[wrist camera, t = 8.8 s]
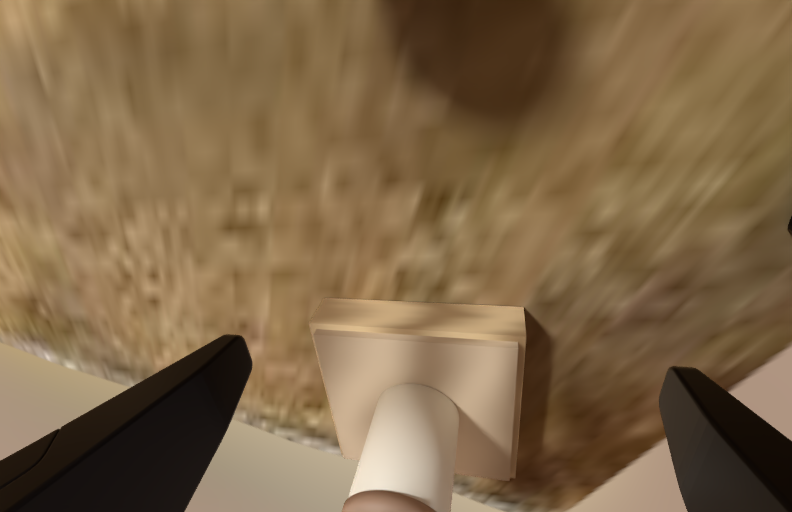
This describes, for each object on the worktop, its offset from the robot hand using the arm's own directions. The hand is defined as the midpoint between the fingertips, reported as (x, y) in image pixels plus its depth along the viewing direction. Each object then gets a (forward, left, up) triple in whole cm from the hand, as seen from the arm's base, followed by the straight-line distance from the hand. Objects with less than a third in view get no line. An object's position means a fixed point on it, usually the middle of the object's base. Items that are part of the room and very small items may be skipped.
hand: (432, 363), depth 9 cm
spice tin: (+3, +14, -10) cm, 17 cm away
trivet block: (+3, +14, -13) cm, 19 cm away
